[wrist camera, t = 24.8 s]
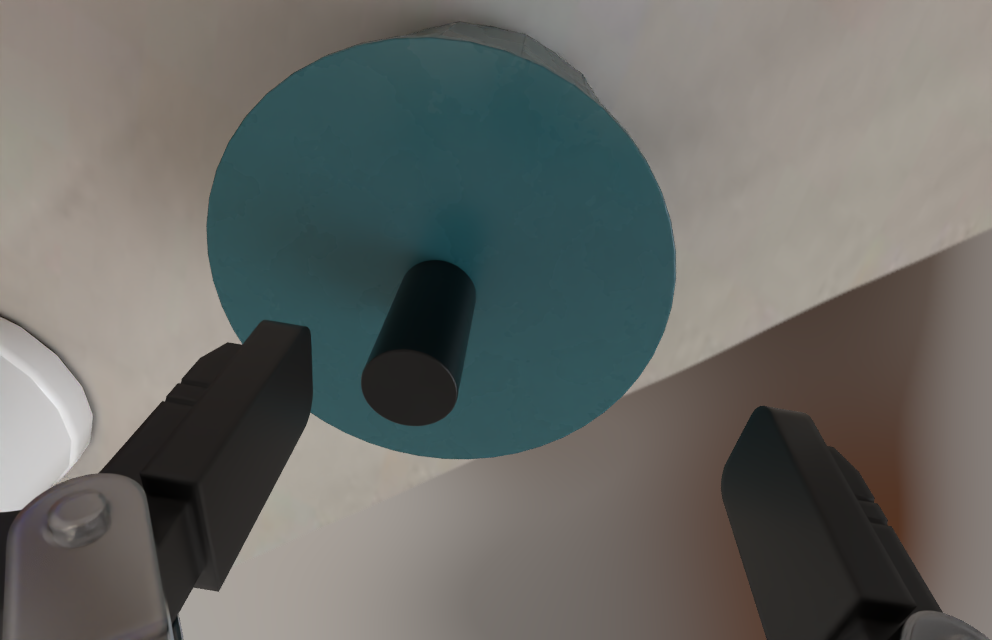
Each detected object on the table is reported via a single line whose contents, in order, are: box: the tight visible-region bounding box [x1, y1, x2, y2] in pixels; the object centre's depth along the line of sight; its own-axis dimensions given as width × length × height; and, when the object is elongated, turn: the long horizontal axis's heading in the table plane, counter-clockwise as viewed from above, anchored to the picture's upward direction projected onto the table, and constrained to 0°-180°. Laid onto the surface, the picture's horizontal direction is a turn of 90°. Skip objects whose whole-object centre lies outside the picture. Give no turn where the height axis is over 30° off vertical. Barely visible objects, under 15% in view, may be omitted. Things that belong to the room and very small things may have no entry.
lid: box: [207, 35, 676, 459], centre depth 16 cm, size 15×15×6 cm
